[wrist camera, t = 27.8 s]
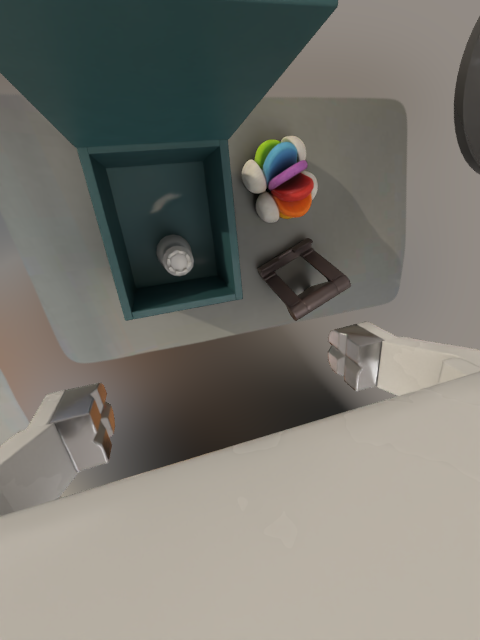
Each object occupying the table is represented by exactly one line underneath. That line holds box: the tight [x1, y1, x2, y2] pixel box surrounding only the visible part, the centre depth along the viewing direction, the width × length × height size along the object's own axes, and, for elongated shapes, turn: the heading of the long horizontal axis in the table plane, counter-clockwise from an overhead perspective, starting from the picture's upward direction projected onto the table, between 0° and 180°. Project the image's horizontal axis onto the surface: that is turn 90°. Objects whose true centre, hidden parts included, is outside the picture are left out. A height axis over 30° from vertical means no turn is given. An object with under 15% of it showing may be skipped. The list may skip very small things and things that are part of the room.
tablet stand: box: [258, 238, 351, 321], centre depth 40 cm, size 9×8×8 cm
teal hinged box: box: [77, 139, 243, 321], centre depth 32 cm, size 16×13×10 cm
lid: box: [0, 0, 338, 148], centre depth 15 cm, size 16×13×5 cm
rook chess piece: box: [156, 235, 194, 276], centre depth 33 cm, size 4×4×8 cm
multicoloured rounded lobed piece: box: [242, 136, 318, 222], centre depth 35 cm, size 8×10×7 cm
